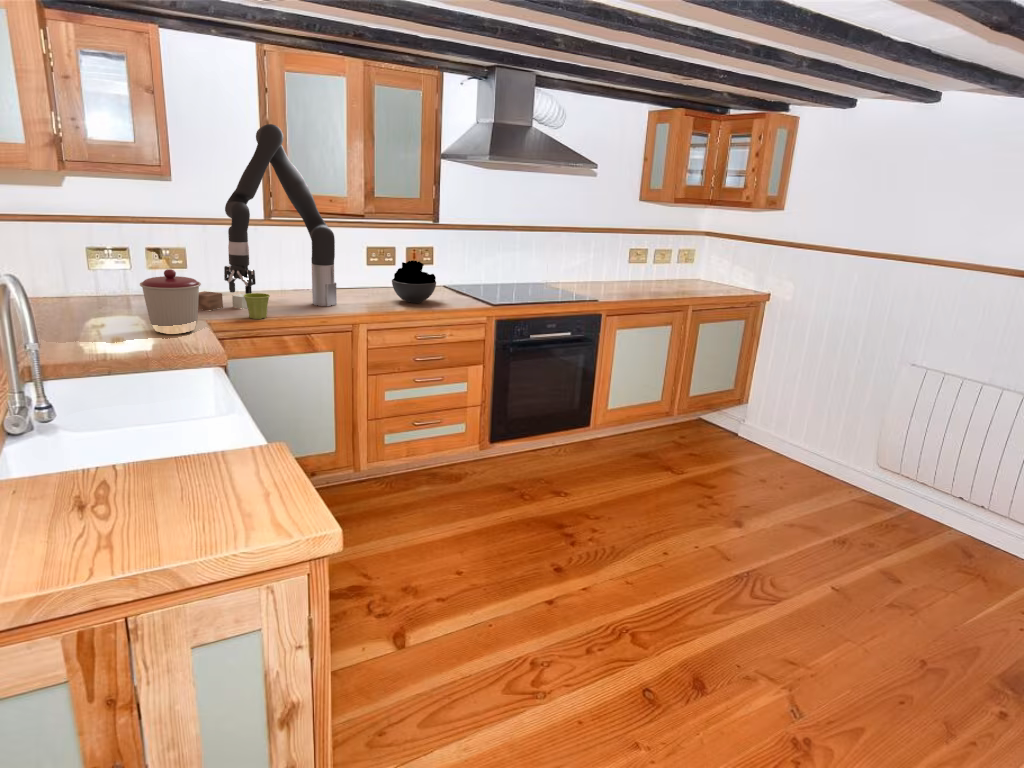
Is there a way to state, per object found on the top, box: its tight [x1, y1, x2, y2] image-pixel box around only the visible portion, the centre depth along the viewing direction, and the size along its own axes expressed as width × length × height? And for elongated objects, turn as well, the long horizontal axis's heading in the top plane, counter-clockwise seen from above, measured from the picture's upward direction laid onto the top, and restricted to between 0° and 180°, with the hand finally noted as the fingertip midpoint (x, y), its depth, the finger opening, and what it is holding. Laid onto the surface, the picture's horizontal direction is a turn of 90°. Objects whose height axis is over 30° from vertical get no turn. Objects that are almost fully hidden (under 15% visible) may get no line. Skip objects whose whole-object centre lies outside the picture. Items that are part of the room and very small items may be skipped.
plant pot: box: [243, 292, 271, 320], centre depth 247 cm, size 9×9×9 cm
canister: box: [139, 268, 202, 326], centre depth 218 cm, size 18×18×21 cm
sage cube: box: [231, 293, 248, 310], centre depth 263 cm, size 5×5×5 cm
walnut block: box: [198, 290, 224, 311], centre depth 257 cm, size 8×8×6 cm
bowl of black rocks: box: [391, 260, 437, 304], centre depth 296 cm, size 20×20×19 cm
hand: (240, 293), depth 263 cm, fingers open, 8 cm apart
